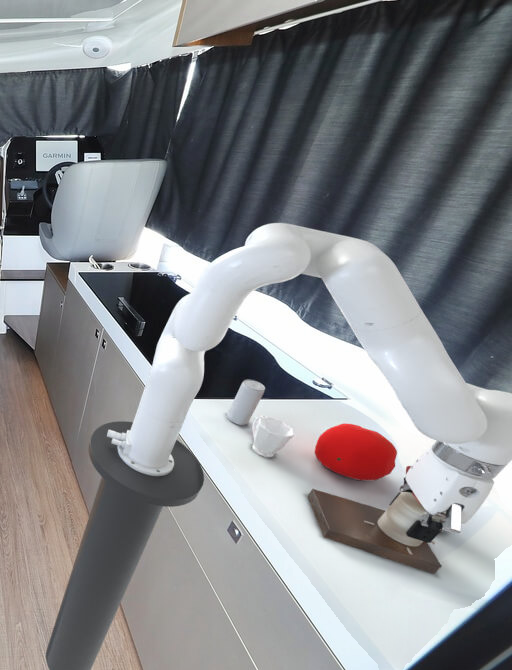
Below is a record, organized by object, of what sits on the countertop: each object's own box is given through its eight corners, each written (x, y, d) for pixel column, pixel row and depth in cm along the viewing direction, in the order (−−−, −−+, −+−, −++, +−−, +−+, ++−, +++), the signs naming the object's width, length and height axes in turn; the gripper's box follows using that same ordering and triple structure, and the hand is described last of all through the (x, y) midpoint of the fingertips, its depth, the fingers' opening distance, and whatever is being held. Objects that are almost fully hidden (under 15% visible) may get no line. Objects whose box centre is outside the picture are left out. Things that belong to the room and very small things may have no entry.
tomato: (322, 488, 98) (365, 479, 100) (383, 480, 87) (430, 471, 89) (291, 434, 103) (333, 427, 106) (344, 420, 92) (389, 413, 95)
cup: (254, 459, 101) (267, 434, 98) (234, 430, 110) (246, 407, 106) (286, 463, 100) (301, 439, 96) (264, 434, 109) (277, 410, 105)
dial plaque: (323, 537, 83) (329, 529, 82) (307, 496, 92) (312, 488, 91) (442, 577, 77) (451, 568, 75) (412, 528, 85) (420, 520, 84)
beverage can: (249, 420, 114) (267, 384, 108) (245, 428, 111) (263, 393, 105) (228, 411, 117) (245, 377, 111) (224, 419, 114) (241, 384, 108)
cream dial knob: (428, 551, 78) (456, 523, 74) (386, 539, 80) (411, 511, 76) (410, 525, 83) (435, 497, 79) (371, 514, 85) (393, 486, 81)
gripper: (535, 503, 64) (461, 572, 72) (467, 431, 77) (412, 497, 86) (465, 484, 67) (402, 553, 75) (412, 419, 80) (364, 483, 89)
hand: (408, 523), depth 80 cm, fingers closed on cream dial knob, 6 cm apart
